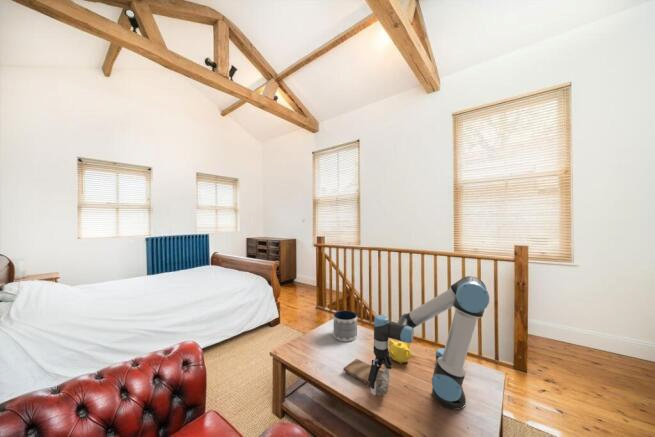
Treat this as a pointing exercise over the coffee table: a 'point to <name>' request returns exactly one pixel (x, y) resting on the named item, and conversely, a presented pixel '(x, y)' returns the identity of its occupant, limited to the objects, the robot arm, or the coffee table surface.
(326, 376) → the coffee table surface
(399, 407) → the coffee table surface
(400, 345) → the teapot
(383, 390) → the stone
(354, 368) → the stand
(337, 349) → the coffee table surface
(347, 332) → the planter
